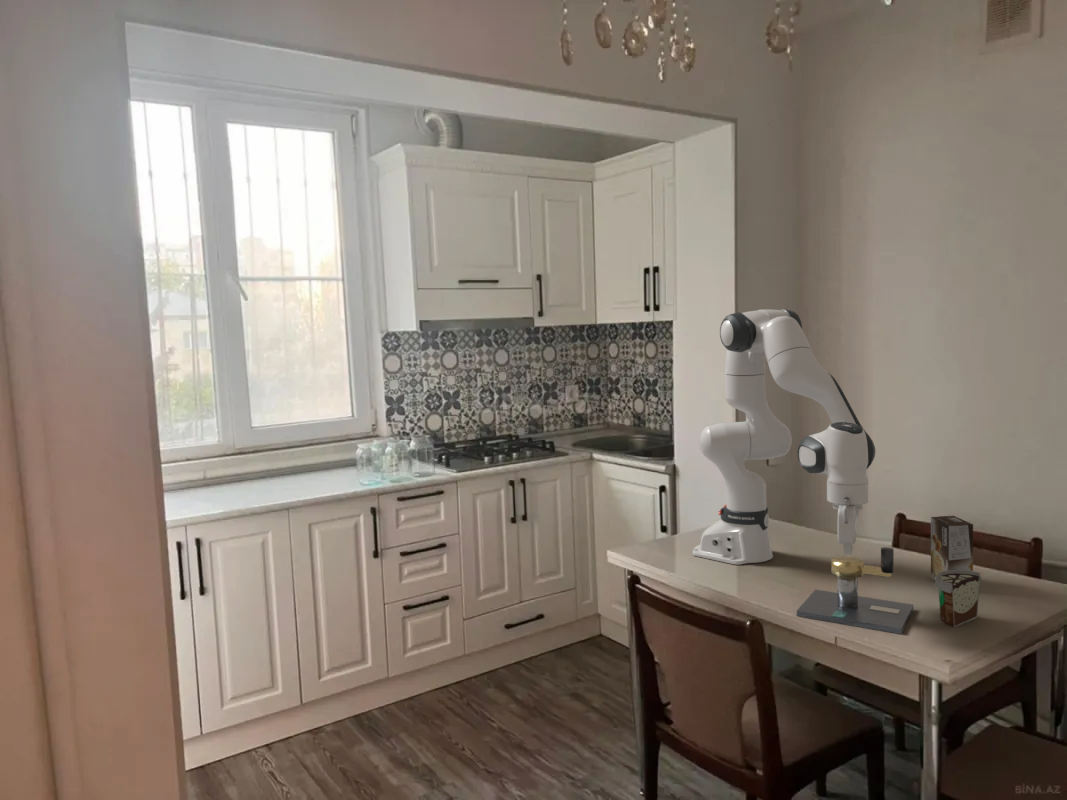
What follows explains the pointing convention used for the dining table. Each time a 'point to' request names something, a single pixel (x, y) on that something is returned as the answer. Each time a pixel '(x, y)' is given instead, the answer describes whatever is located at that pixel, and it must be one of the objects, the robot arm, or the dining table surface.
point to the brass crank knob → (856, 566)
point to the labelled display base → (856, 608)
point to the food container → (958, 596)
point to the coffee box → (951, 545)
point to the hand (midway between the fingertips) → (847, 552)
